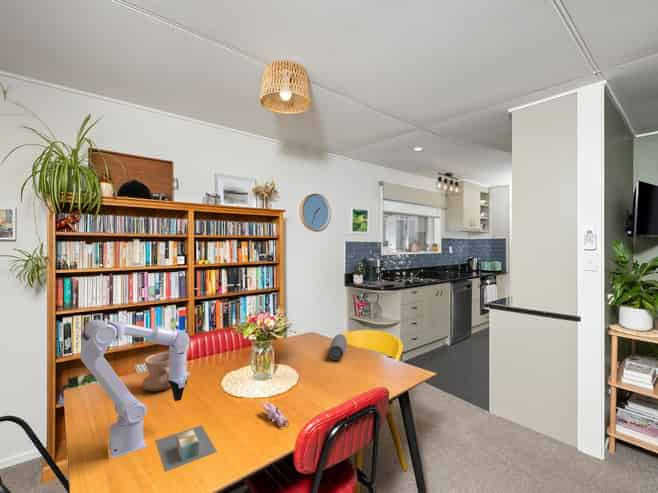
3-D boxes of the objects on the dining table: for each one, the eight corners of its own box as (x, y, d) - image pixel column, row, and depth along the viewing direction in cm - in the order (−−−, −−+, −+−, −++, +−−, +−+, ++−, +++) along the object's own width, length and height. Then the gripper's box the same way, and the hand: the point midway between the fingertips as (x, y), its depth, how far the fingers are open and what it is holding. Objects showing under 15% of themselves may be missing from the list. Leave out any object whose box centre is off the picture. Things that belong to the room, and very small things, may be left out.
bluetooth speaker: (332, 348, 202) (333, 332, 202) (347, 349, 201) (347, 333, 201) (327, 361, 180) (328, 344, 179) (344, 362, 178) (344, 345, 178)
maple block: (176, 447, 102) (182, 460, 96) (176, 435, 102) (182, 448, 96) (192, 441, 105) (199, 454, 99) (192, 429, 105) (199, 441, 99)
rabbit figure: (292, 427, 117) (271, 405, 128) (294, 413, 116) (272, 392, 127) (278, 434, 113) (257, 411, 124) (280, 419, 112) (258, 397, 123)
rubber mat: (165, 473, 91) (165, 471, 91) (155, 441, 106) (155, 440, 106) (217, 453, 100) (217, 451, 100) (201, 426, 115) (201, 425, 115)
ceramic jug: (136, 386, 146) (136, 356, 145) (168, 376, 157) (168, 348, 156) (151, 400, 134) (151, 367, 133) (185, 388, 145) (185, 358, 144)
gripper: (194, 367, 112) (194, 404, 112) (185, 355, 123) (184, 389, 123) (172, 371, 108) (172, 411, 108) (165, 359, 119) (164, 394, 119)
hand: (177, 400), depth 115 cm, fingers closed
